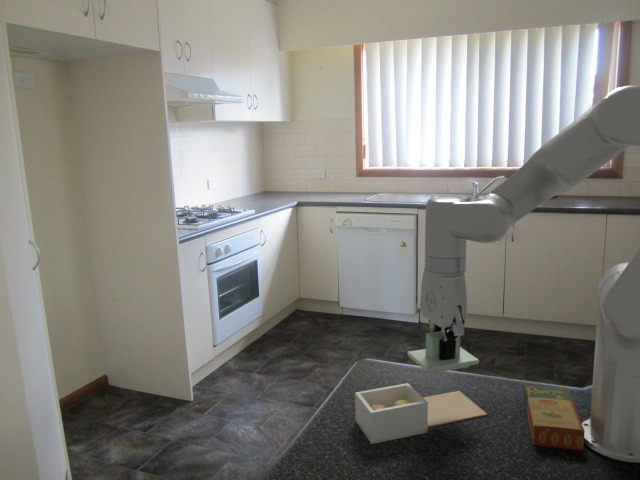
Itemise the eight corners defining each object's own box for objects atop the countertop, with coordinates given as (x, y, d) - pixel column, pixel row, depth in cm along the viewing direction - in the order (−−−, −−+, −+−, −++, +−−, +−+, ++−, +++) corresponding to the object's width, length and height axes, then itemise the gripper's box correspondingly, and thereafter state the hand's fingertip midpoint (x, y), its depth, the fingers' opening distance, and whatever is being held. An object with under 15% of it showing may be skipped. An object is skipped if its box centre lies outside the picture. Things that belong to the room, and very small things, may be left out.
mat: (459, 392, 111) (459, 390, 111) (486, 415, 102) (486, 413, 102) (402, 402, 108) (402, 401, 108) (426, 427, 98) (426, 426, 98)
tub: (408, 411, 104) (408, 383, 103) (427, 432, 97) (427, 402, 96) (355, 421, 101) (355, 392, 100) (371, 444, 94) (371, 413, 92)
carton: (531, 446, 92) (532, 424, 91) (522, 402, 107) (523, 382, 106) (584, 452, 90) (585, 429, 89) (567, 406, 105) (568, 386, 104)
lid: (456, 352, 108) (457, 323, 107) (478, 368, 101) (480, 337, 100) (407, 360, 105) (407, 330, 104) (426, 377, 98) (427, 345, 97)
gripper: (407, 256, 106) (406, 343, 109) (449, 276, 90) (446, 376, 94) (441, 253, 108) (439, 338, 111) (487, 272, 93) (483, 370, 96)
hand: (442, 354), depth 103 cm, fingers closed on lid, 2 cm apart
